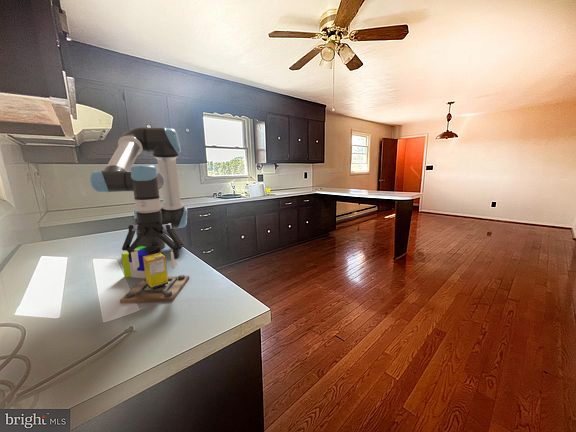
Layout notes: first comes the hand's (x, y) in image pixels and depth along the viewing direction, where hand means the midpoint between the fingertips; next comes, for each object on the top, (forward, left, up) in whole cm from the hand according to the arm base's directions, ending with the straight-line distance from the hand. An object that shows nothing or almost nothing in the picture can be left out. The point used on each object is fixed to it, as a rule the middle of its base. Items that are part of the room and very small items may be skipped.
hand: (155, 267), depth 87 cm
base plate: (0, 0, -9) cm, 9 cm away
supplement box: (0, 0, -7) cm, 7 cm away
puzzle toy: (-16, -13, -9) cm, 22 cm away
